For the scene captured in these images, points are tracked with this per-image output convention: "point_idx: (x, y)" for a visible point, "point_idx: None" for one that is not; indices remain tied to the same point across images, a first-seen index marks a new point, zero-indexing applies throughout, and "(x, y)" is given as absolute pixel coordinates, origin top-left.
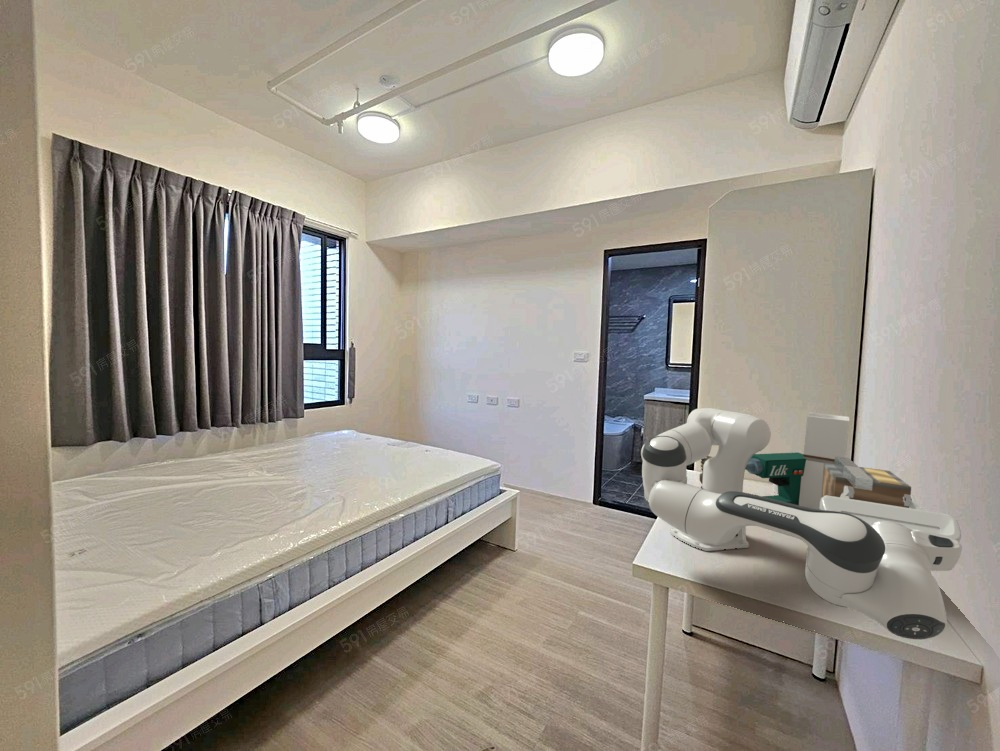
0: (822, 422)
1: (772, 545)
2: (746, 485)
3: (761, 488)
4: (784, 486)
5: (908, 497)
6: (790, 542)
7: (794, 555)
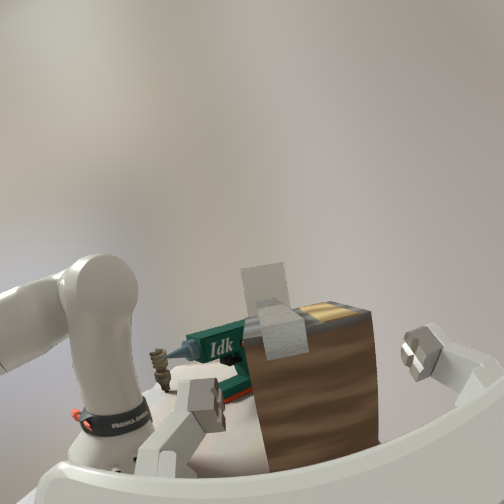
0: (257, 272)
1: (209, 465)
2: (217, 369)
3: (231, 368)
4: (239, 363)
5: (427, 339)
6: (238, 448)
7: (236, 476)
